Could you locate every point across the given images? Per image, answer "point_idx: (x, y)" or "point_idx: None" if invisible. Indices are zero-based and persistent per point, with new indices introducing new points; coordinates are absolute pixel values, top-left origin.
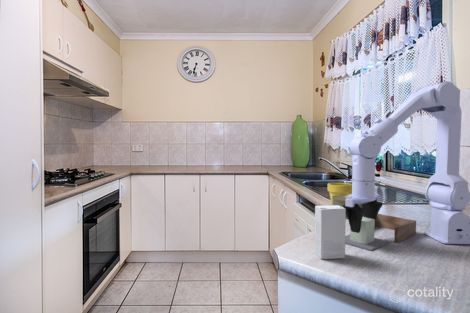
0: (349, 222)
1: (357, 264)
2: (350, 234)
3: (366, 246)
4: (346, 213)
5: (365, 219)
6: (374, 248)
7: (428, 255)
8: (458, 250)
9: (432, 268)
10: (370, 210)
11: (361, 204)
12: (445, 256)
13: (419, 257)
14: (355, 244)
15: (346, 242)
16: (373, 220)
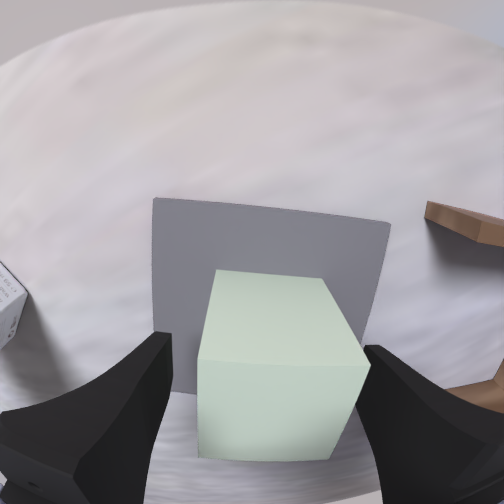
0: (119, 364)
1: (23, 373)
2: (213, 285)
3: (180, 366)
4: (56, 404)
5: (274, 437)
6: (190, 392)
7: (280, 479)
8: (377, 485)
9: (180, 490)
10: (402, 465)
11: (469, 436)
12: (303, 492)
13: (240, 473)
14: (162, 321)
15: (152, 273)
16: (309, 455)
